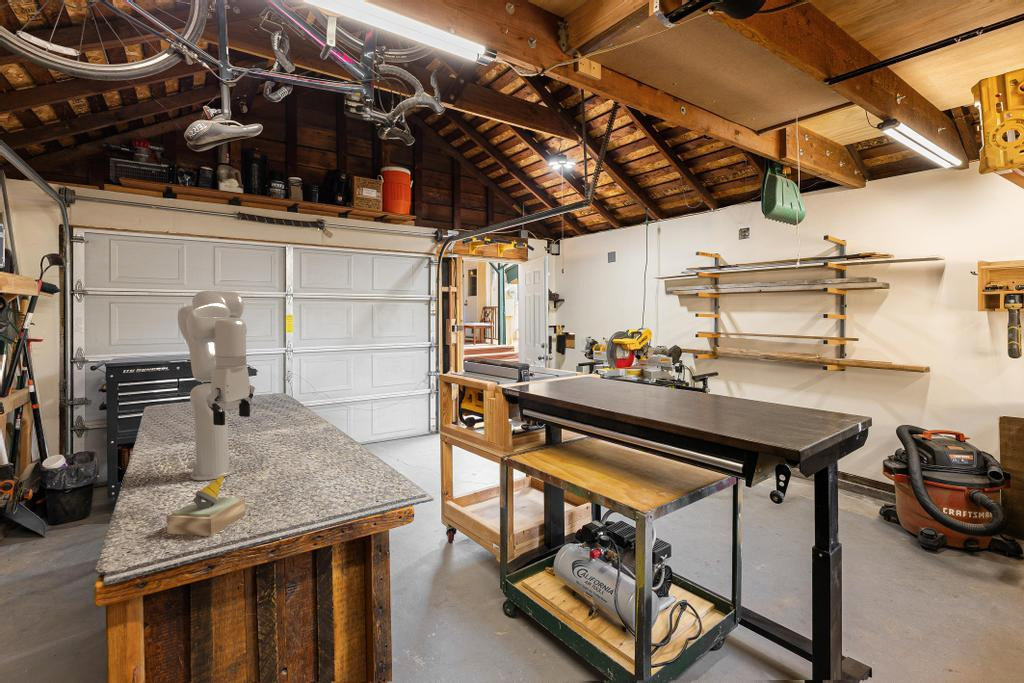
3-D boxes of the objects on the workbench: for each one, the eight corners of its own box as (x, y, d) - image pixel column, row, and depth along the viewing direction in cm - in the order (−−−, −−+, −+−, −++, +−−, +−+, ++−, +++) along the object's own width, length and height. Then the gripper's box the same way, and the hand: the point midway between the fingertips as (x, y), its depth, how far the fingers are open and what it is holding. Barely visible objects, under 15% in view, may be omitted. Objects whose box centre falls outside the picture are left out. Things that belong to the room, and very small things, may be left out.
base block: (167, 533, 113) (166, 513, 112) (205, 512, 124) (204, 495, 124) (211, 536, 111) (210, 516, 111) (245, 514, 123) (244, 497, 123)
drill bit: (189, 507, 117) (217, 473, 123) (209, 516, 117) (235, 481, 123) (184, 502, 113) (212, 466, 119) (203, 511, 113) (231, 475, 119)
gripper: (241, 358, 138) (242, 412, 139) (194, 365, 121) (196, 427, 122) (263, 359, 137) (264, 414, 138) (219, 366, 120) (220, 429, 121)
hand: (232, 420), depth 130 cm, fingers open, 9 cm apart
